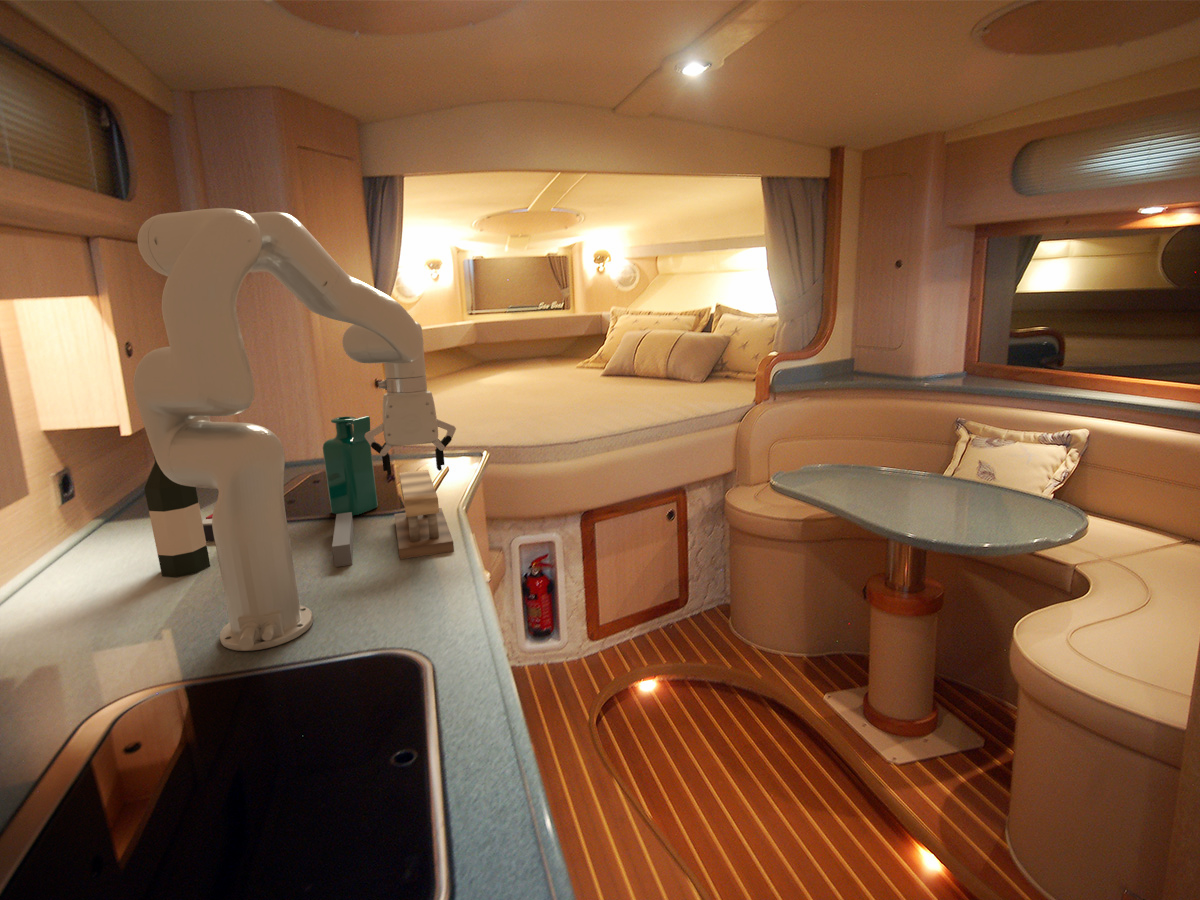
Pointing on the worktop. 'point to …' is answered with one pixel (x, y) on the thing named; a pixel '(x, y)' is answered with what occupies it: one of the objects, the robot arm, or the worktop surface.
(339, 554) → the block
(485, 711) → the worktop surface
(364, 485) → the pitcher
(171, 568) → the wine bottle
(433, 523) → the peg stand
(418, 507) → the wooden block
